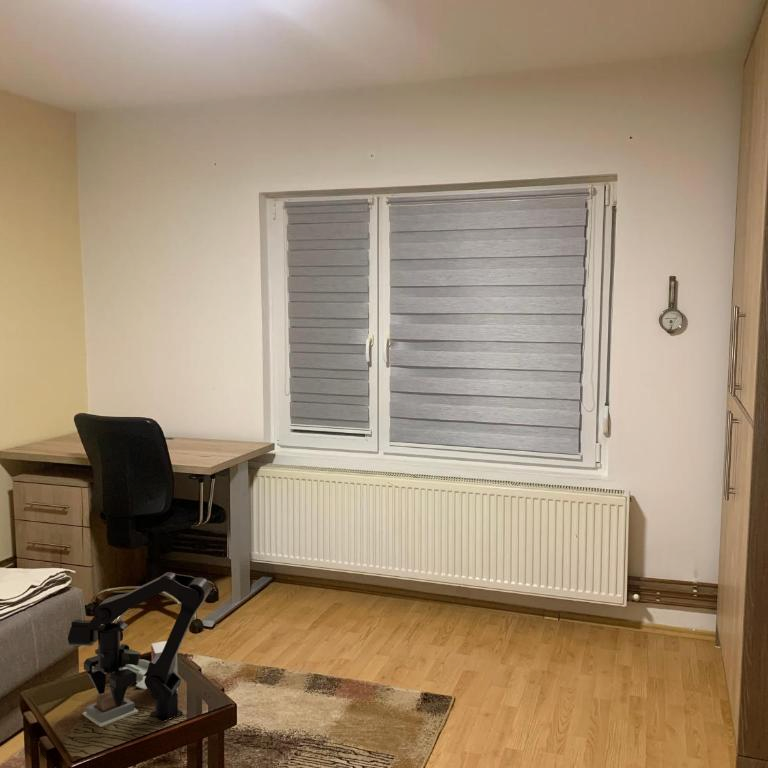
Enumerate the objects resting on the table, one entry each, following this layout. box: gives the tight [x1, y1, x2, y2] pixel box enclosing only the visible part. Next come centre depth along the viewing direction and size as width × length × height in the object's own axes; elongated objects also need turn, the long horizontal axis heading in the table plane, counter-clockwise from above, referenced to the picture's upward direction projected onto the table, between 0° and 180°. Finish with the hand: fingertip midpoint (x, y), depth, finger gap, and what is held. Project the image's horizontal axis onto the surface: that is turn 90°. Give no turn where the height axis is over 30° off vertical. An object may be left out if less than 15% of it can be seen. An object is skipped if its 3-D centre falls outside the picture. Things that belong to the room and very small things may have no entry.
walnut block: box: [95, 690, 124, 713], centre depth 214 cm, size 4×6×5 cm, turn 138°
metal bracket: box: [119, 658, 151, 690], centre depth 237 cm, size 14×6×15 cm
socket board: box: [82, 696, 139, 728], centre depth 214 cm, size 10×11×2 cm
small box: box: [150, 640, 179, 694], centre depth 228 cm, size 8×6×13 cm
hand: (110, 701), depth 214 cm, fingers open, 9 cm apart
